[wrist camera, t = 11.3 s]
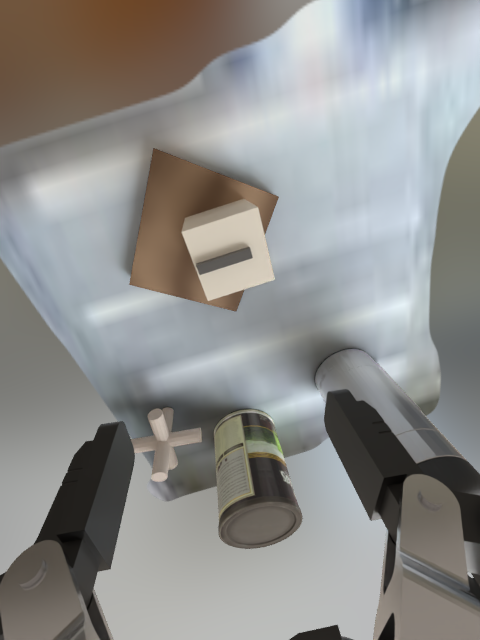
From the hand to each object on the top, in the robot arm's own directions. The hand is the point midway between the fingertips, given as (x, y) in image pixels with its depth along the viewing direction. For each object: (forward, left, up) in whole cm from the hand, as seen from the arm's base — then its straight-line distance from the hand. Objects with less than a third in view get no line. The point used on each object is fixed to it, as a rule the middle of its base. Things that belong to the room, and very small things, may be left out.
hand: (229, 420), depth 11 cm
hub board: (+1, -2, -23) cm, 23 cm away
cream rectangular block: (-1, -3, -21) cm, 21 cm away
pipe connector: (-1, +24, -23) cm, 33 cm away
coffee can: (-14, +26, -23) cm, 37 cm away
